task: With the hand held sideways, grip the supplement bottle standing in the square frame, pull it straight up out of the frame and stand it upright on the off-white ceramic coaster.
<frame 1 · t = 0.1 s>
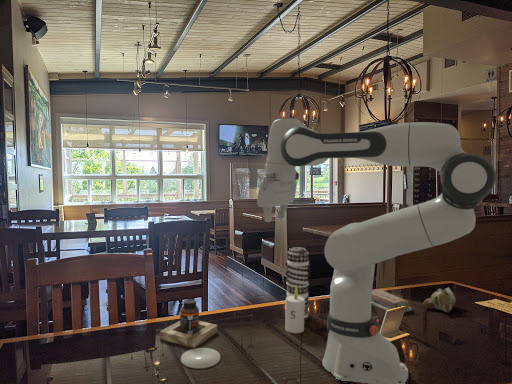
hand: (274, 219, 116), 39 cm above the table, fingers open, 8 cm apart
coaster: (200, 358, 110), on the table
candle: (294, 330, 132), on the table
ceramic sculpture: (440, 309, 154), on the table
square frame: (189, 335, 126), on the table
supplement bottle: (189, 336, 126), resting in square frame
decorative candle: (296, 315, 145), on the table
packaged product: (386, 306, 158), on the table
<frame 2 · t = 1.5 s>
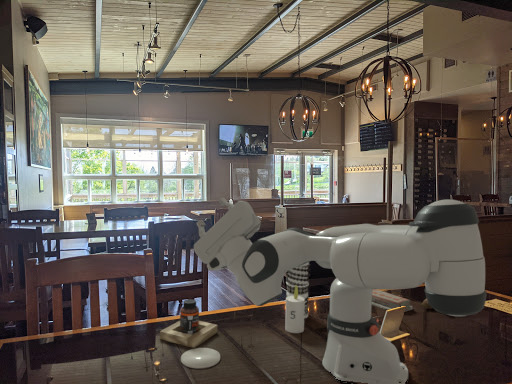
hand: (210, 210, 108), 42 cm above the table, fingers open, 8 cm apart
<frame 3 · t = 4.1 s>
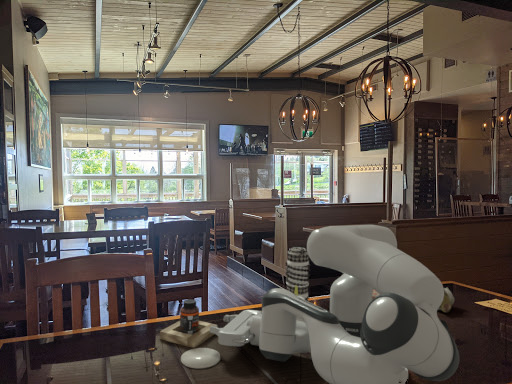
hand: (217, 323, 121), 6 cm above the table, fingers open, 8 cm apart
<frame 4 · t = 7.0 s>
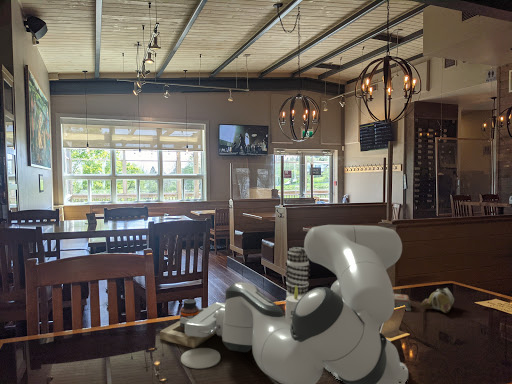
hand: (187, 315, 125), 7 cm above the table, fingers closed on supplement bottle, 6 cm apart
supplement bottle: (189, 336, 126), resting in square frame, touching gripper
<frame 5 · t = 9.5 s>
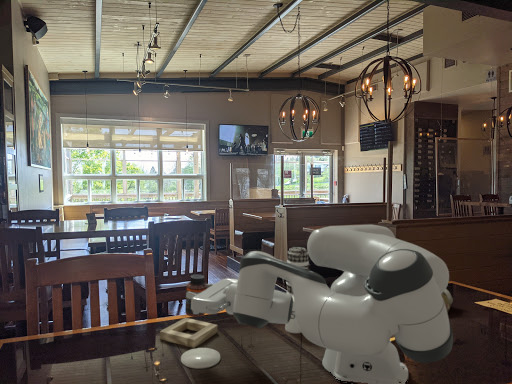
hand: (194, 290, 114), 18 cm above the table, fingers closed on supplement bottle, 6 cm apart
supplement bottle: (195, 314, 115), point 11 cm above the table, touching gripper
when the fingers open (8 cm above the table, at t = 12.4 s): supplement bottle stays where it is, resting on coaster.
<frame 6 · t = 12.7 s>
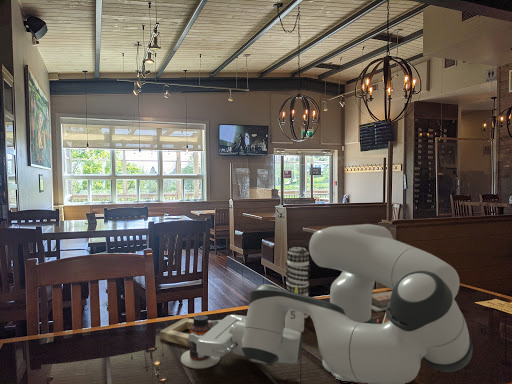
hand: (198, 329, 110), 8 cm above the table, fingers open, 8 cm apart
supplement bottle: (200, 357, 110), resting on coaster
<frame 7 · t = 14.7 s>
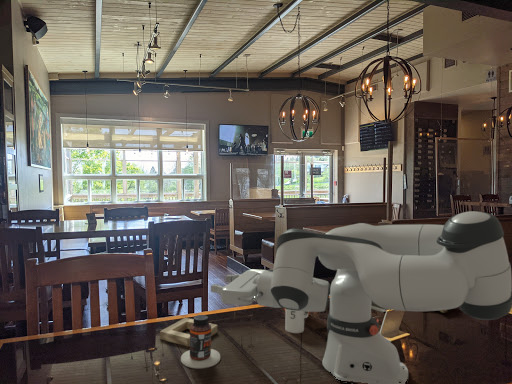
hand: (219, 282, 107), 23 cm above the table, fingers open, 8 cm apart
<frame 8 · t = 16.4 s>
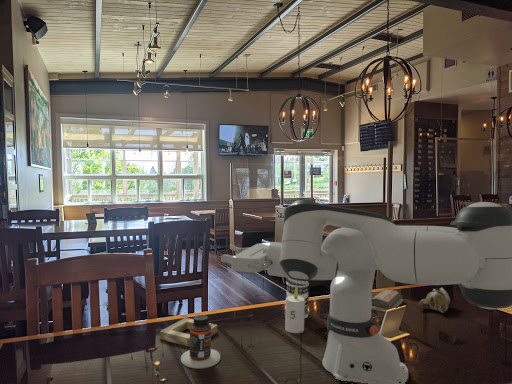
hand: (229, 254, 108), 30 cm above the table, fingers open, 8 cm apart
at the end: supplement bottle 0.2 cm off-centre on the coaster, point 0.4 cm above the coaster's base; supplement bottle tilted 0°; the gripper is holding nothing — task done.
